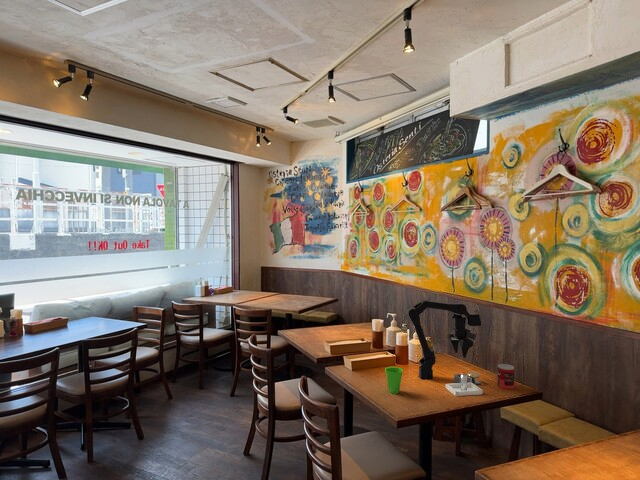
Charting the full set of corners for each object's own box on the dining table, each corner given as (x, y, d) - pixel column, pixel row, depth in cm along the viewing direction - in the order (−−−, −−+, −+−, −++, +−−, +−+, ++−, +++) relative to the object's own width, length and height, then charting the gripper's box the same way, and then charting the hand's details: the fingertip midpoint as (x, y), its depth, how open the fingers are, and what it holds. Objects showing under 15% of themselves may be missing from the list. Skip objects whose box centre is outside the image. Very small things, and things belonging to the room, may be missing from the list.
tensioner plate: (460, 387, 209) (460, 377, 209) (452, 381, 218) (452, 372, 218) (484, 385, 211) (484, 376, 211) (475, 379, 220) (475, 370, 220)
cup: (392, 396, 197) (392, 373, 197) (381, 390, 205) (381, 368, 205) (407, 393, 201) (407, 370, 201) (395, 387, 209) (395, 365, 209)
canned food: (500, 383, 214) (500, 362, 214) (516, 387, 208) (516, 366, 208) (494, 387, 208) (494, 366, 208) (511, 391, 203) (511, 369, 203)
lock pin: (462, 392, 201) (462, 374, 201) (459, 389, 204) (459, 372, 204) (468, 391, 201) (468, 374, 201) (465, 389, 204) (465, 372, 204)
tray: (455, 397, 196) (455, 391, 196) (445, 388, 207) (445, 383, 207) (483, 395, 198) (483, 390, 198) (471, 387, 209) (471, 382, 209)
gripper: (483, 329, 212) (483, 359, 212) (465, 322, 231) (465, 350, 231) (463, 330, 211) (463, 360, 211) (446, 323, 229) (447, 350, 229)
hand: (460, 355), depth 221 cm, fingers open, 9 cm apart
